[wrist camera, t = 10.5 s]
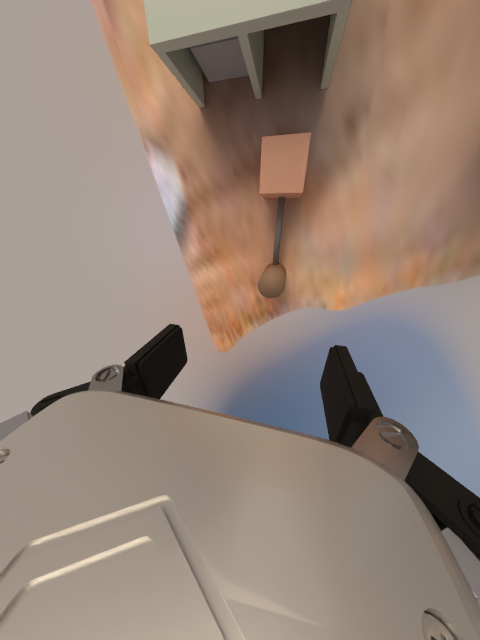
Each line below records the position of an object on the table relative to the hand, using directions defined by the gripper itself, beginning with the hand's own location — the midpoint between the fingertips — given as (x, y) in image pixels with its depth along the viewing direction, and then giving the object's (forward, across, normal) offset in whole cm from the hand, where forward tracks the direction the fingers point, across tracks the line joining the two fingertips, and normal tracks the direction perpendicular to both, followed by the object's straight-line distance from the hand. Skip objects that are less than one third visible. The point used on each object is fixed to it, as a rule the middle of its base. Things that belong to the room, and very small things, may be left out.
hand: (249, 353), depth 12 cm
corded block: (+22, 0, -7) cm, 23 cm away
